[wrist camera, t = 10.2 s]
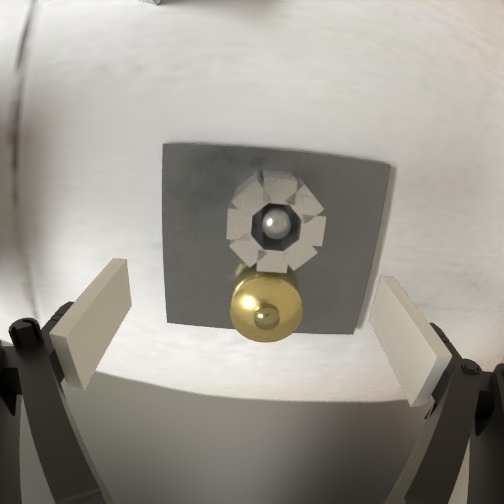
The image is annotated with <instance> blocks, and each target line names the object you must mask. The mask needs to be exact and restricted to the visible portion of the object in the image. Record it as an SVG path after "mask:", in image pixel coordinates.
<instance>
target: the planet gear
mask: <svg viewBox="0 0 504 504" xmlns="http://www.w3.org/2000/svg"><path fill="white" fill-rule="evenodd" d="M268 203H274V204H286V205H290V207H291V208H292V209H293V210H294V218H293V222H292V223H291V229H290V231H289V233H288V234H287V235H286V236H285V237H283V238H280V239H273V238H270V237H268V236H267V235H266V234H265V233H264V231H263V230H262V229H261V228H260V226H259V225H258V224H257V223H256V222H255V221H254V220H253V219H252V216H253V215H254V214H256V213H257V212H258V211H259V210H260V209H262V208H263V207H264V206H265V205H267V204H268ZM323 210H324V208H323V207H322V205H321V204H320V203H319V201H318V200H317V199H316V198H315V196H314V195H313V194H312V192H311V191H310V190H309V189H308V187H307V186H306V185H305V184H304V183H303V181H302V180H301V179H300V178H299V176H298V175H297V176H296V177H294V175H293V174H292V172H288V171H277V170H265V169H263V178H262V177H261V176H260V175H259V174H258V172H255V173H254V174H253V175H252V176H251V177H249V178H248V179H247V180H246V181H245V182H244V183H242V184H241V185H240V186H239V187H238V188H236V190H235V193H234V195H233V196H232V198H231V201H230V204H229V207H228V216H227V236H226V239H231V240H230V244H229V247H230V248H231V249H232V250H233V251H234V252H235V253H236V254H237V255H238V256H239V257H240V258H241V259H242V260H243V261H244V262H245V263H246V265H247V266H248V267H249V268H250V267H251V266H252V265H254V264H255V263H256V262H257V267H256V271H264V272H278V273H287V266H288V265H289V266H290V267H291V268H292V269H293V270H296V269H297V268H298V267H300V266H301V265H302V264H304V263H305V262H306V261H308V260H309V259H310V258H312V257H313V256H314V255H316V254H317V253H318V252H317V250H316V247H315V246H322V242H323V236H324V229H325V223H326V215H325V214H324V213H323Z"/></svg>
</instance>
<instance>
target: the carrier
mask: <svg viewBox="0 0 504 504" xmlns="http://www.w3.org/2000/svg"><path fill="white" fill-rule="evenodd" d="M389 168H390V164H388V163H384V162H378V161H372V160H366V159H360V158H353V157H346V156H339V155H332V154H324V153H316V152H307V151H298V150H289V149H278V148H267V147H254V146H239V145H221V144H196V143H164V144H163V159H162V232H163V262H164V283H165V299H166V313H167V323H175V324H184V325H194V326H204V327H215V328H227V329H236V330H237V331H238V332H239V333H240V334H242V335H243V336H244V337H246V338H248V339H250V340H253V341H257V342H275V341H279V340H282V339H284V338H286V337H288V336H289V335H291V334H292V333H312V334H353V333H354V330H355V326H356V323H357V319H358V316H359V312H360V308H361V305H362V301H363V297H364V293H365V289H366V285H367V281H368V277H369V273H370V269H371V264H372V260H373V256H374V251H375V246H376V242H377V237H378V232H379V227H380V222H381V217H382V211H383V206H384V200H385V194H386V188H387V181H388V175H389ZM263 169H265V170H277V171H288V172H292V174H293V175H294V177H296V176H297V175H298V176H299V178H300V179H301V180H302V181H303V183H304V184H305V185H306V186H307V187H308V189H309V190H310V191H311V192H312V194H313V195H314V196H315V198H316V199H317V200H318V201H319V203H320V204H321V205H322V207H323V208H324V210H323V213H324V214H325V215H326V223H325V229H324V236H323V242H322V246H315V247H316V250H317V252H318V253H317V254H316V255H314V256H313V257H312V258H310V259H309V260H308V261H306V262H305V263H304V264H302V265H301V266H300V267H298V268H297V269H296V270H293V269H292V268H291V267H290V266H289V265H288V266H287V273H278V272H264V271H256V267H257V262H256V263H255V264H254V265H252V266H251V267H250V268H249V267H248V266H247V265H246V263H245V262H244V261H243V260H242V259H241V258H240V257H239V256H238V255H237V254H236V253H235V252H234V251H233V250H232V249H231V248H230V247H229V244H230V240H231V239H226V236H227V216H228V207H229V204H230V201H231V198H232V196H233V195H234V193H235V190H236V188H238V187H239V186H240V185H241V184H242V183H244V182H245V181H246V180H247V179H248V178H249V177H251V176H252V175H253V174H254V173H255V172H258V174H259V175H260V176H261V177H262V178H263ZM293 218H294V210H293V209H292V208H291V207H290V205H286V204H274V203H268V204H267V205H265V206H264V207H263V208H262V209H260V210H259V211H258V212H257V213H256V214H254V215H253V216H252V219H253V220H254V221H255V222H256V223H257V224H258V225H259V226H260V228H261V229H262V230H263V231H264V233H265V234H266V235H267V236H268V237H270V238H273V239H280V238H283V237H285V236H286V235H287V234H288V233H289V231H290V229H291V223H292V222H293Z"/></svg>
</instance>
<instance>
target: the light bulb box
mask: <svg viewBox="0 0 504 504" xmlns="http://www.w3.org/2000/svg"><path fill="white" fill-rule="evenodd" d="M139 1H143V2H147V3H150V4H154V5H158V4H159V3H160V1H161V0H139Z"/></svg>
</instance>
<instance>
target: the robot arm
mask: <svg viewBox="0 0 504 504" xmlns="http://www.w3.org/2000/svg"><path fill="white" fill-rule="evenodd" d="M131 306H132V303H131V295H130V287H129V278H128V268H127V259H116V258H113V259H112V260H111V261H110V263H109V264H108V265H107V266H106V267H105V268H104V269H103V270H102V271H101V273H100V274H99V275H98V276H97V277H96V278H95V279H94V280H93V281H92V283H91V284H90V285H89V286H88V287H87V288H86V289H85V291H84V292H83V293H82V294H81V295H80V296H79V298H78V299H77V300H76V301H75V302H70V301H69V302H68V303H66V304H64V305H63V306H61V307H60V308H59V309H58V310H57V311H56V313H55V315H53V316H52V317H51V320H49V321H48V322H47V323H46V324H45V326H44V327H43V328H42V329H40V326H39V323H38V322H37V320H35V319H33V318H22V319H19V320H17V321H15V322H14V323H12V325H11V326H10V327H9V334H10V337H11V339H12V342H13V345H14V346H10V347H9V346H2V343H1V340H0V504H22V499H21V488H20V466H19V465H20V463H19V437H20V414H21V400H22V395H23V399H24V404H25V409H26V413H27V417H28V421H29V425H30V429H31V433H32V437H33V440H34V443H35V447H36V450H37V453H38V457H39V460H40V463H41V466H42V469H43V472H44V475H45V477H46V480H47V483H48V485H49V488H50V491H51V493H52V496H53V498H54V501H55V503H56V504H115V502H114V501H113V499H112V497H111V495H110V494H109V492H108V490H107V488H106V486H105V485H104V483H103V481H102V479H101V477H100V475H99V473H98V471H97V469H96V467H95V465H94V463H93V461H92V459H91V457H90V455H89V453H88V451H87V449H86V446H85V444H84V442H83V440H82V437H81V435H80V433H79V430H78V428H77V425H76V423H75V421H74V418H73V416H72V413H71V410H70V408H69V405H68V402H67V400H66V397H65V395H64V391H63V389H62V386H61V384H60V383H61V382H62V380H63V378H64V377H65V380H66V382H67V385H68V387H70V388H74V389H78V390H82V391H84V390H85V388H86V386H87V385H88V382H89V381H90V379H91V377H92V375H93V373H94V371H95V369H96V368H97V366H98V364H99V362H100V360H101V358H102V357H103V355H104V353H105V351H106V349H107V348H108V346H109V344H110V342H111V340H112V339H113V337H114V335H115V333H116V332H117V330H118V328H119V326H120V325H121V323H122V321H123V319H124V318H125V316H126V314H127V313H128V311H129V309H130V308H131ZM369 322H370V324H371V325H372V327H373V329H374V331H375V333H376V335H377V337H378V339H379V341H380V343H381V345H382V347H383V349H384V351H385V353H386V355H387V357H388V359H389V361H390V364H391V366H392V368H393V370H394V372H395V374H396V376H397V378H398V380H399V382H400V385H401V387H402V389H403V391H404V393H405V395H406V397H407V400H408V402H409V404H410V406H411V407H416V406H423V405H426V404H427V402H428V400H429V399H430V397H431V395H432V397H433V399H434V400H435V402H434V404H433V405H432V407H431V409H430V410H429V412H428V413H427V415H426V416H425V419H426V422H425V424H424V427H423V429H422V431H421V434H420V436H419V438H418V440H417V443H416V445H415V447H414V449H413V451H412V453H411V455H410V457H409V459H408V461H407V463H406V465H405V467H404V469H403V471H402V473H401V475H400V477H399V479H398V481H397V483H396V484H395V486H394V488H393V490H392V491H391V493H390V495H389V497H388V498H387V500H386V502H385V504H448V502H449V499H450V497H451V494H452V491H453V489H454V486H455V483H456V480H457V477H458V474H459V471H460V468H461V465H462V462H463V459H464V455H465V452H466V448H467V445H468V441H469V437H470V458H469V459H470V460H469V484H468V498H467V504H504V364H498V365H497V366H496V367H495V369H494V371H493V372H485V371H482V369H481V368H480V366H479V365H478V364H477V363H476V362H474V361H472V360H469V359H462V357H461V356H460V355H459V353H458V352H457V350H456V349H455V348H454V346H453V345H452V343H451V342H449V339H448V338H447V337H445V336H446V335H445V334H444V333H443V331H442V330H441V329H440V328H439V327H438V326H436V325H435V324H434V323H429V322H428V321H427V320H426V318H425V317H424V316H423V314H422V313H421V312H420V310H419V309H418V308H417V306H416V305H415V304H414V302H413V301H412V300H411V299H410V297H409V296H408V295H407V293H406V292H405V291H404V290H403V288H402V287H401V286H400V285H399V283H398V282H397V281H396V280H395V278H394V277H390V276H381V277H380V281H379V284H378V288H377V292H376V296H375V299H374V303H373V306H372V310H371V313H370V317H369Z"/></svg>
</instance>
